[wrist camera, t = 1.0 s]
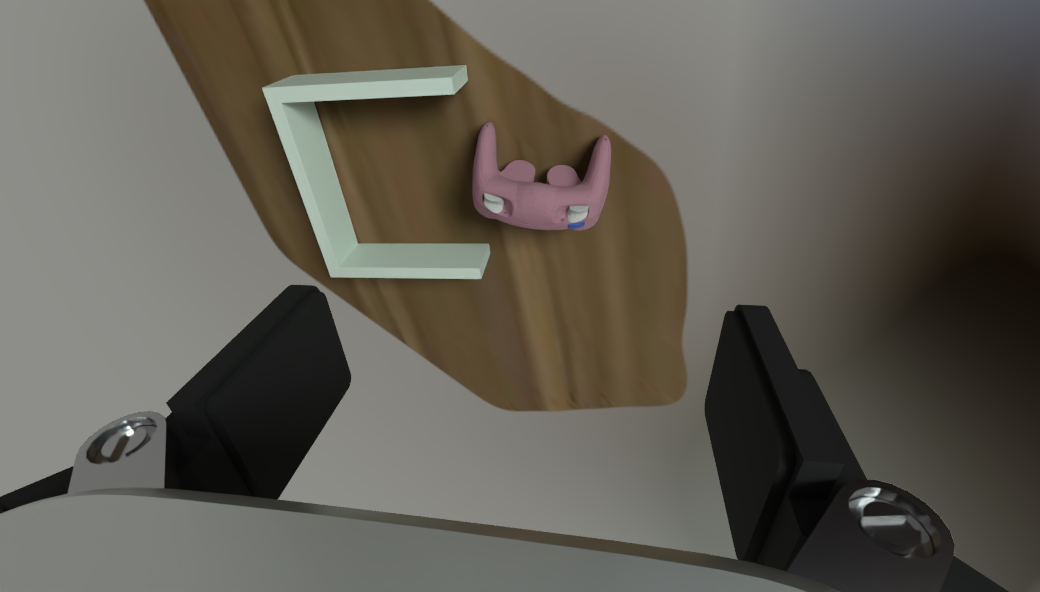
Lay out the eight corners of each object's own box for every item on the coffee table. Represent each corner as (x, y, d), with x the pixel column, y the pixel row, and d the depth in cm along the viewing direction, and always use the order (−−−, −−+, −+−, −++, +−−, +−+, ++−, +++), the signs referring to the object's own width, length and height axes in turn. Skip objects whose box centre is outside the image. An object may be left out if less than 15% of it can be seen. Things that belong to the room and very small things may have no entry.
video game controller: (483, 159, 38) (465, 230, 35) (479, 114, 34) (458, 190, 31) (606, 174, 38) (599, 247, 34) (617, 129, 34) (610, 208, 30)
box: (293, 75, 35) (261, 87, 32) (466, 64, 33) (451, 77, 30) (350, 253, 43) (330, 277, 40) (490, 253, 41) (481, 279, 38)
